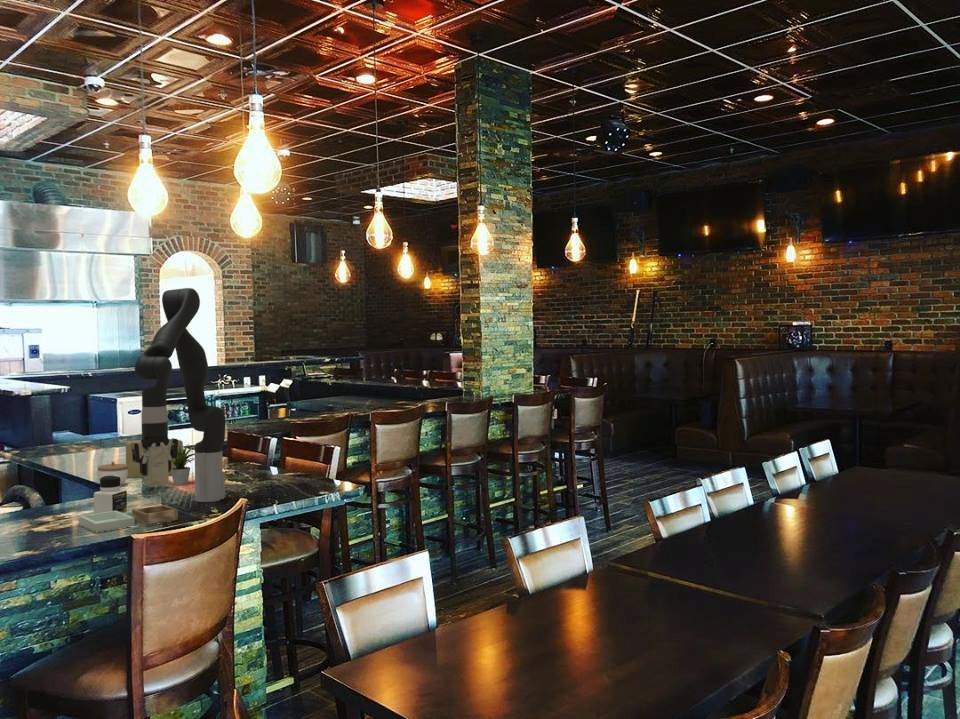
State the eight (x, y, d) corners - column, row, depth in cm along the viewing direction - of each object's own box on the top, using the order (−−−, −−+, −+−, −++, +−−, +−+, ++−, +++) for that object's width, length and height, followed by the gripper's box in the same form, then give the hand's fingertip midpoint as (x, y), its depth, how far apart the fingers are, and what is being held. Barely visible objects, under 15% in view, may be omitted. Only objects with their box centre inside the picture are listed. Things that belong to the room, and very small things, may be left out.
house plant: (185, 488, 292) (185, 446, 291) (153, 487, 294) (152, 444, 294) (206, 482, 306) (206, 441, 305) (175, 480, 308) (174, 440, 308)
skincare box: (151, 487, 236) (150, 447, 235) (142, 485, 238) (141, 446, 237) (169, 483, 241) (168, 444, 241) (160, 482, 243) (159, 443, 243)
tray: (116, 519, 242) (116, 510, 242) (134, 526, 232) (134, 517, 232) (78, 525, 234) (78, 516, 234) (96, 533, 224) (96, 523, 224)
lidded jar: (134, 484, 300) (134, 460, 299) (111, 489, 290) (110, 464, 290) (115, 482, 304) (115, 458, 304) (91, 487, 294) (91, 462, 294)
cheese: (187, 473, 325) (187, 438, 324) (180, 478, 315) (180, 441, 315) (133, 474, 323) (133, 439, 322) (124, 478, 313) (124, 442, 313)
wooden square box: (163, 515, 247) (163, 504, 246) (177, 521, 240) (177, 509, 240) (132, 521, 239) (131, 509, 239) (145, 526, 232) (145, 514, 232)
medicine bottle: (112, 515, 247) (112, 478, 247) (93, 514, 248) (93, 477, 248) (127, 510, 254) (127, 474, 254) (108, 509, 255) (108, 473, 255)
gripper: (171, 417, 246) (172, 469, 247) (126, 421, 236) (127, 475, 237) (182, 419, 241) (183, 472, 242) (136, 423, 231) (137, 478, 231)
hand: (155, 473), depth 239 cm, fingers closed on skincare box, 6 cm apart
